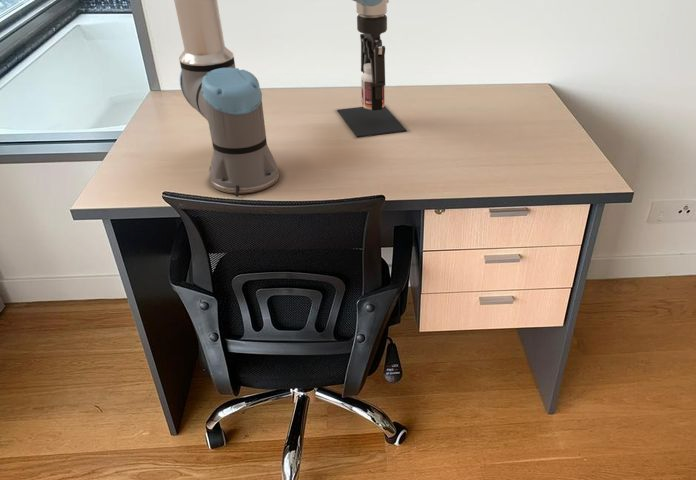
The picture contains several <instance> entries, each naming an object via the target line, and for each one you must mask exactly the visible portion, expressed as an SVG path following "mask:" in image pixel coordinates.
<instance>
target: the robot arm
mask: <svg viewBox="0 0 696 480" xmlns="http://www.w3.org/2000/svg"><path fill="white" fill-rule="evenodd" d="M352 1H353V2H355V4H356V5H355V6H356V14H358V15H357V16H356V29H357V32H359V33H360V34H359V38H360V39H359V40H360V72H361V73H362V74H363V73H365V72H364V65H365V64H367V63H371V71H372V81H373V85H370V87H371V89H372V111H375V110H382V86H384V87H385V86H386V57H385V55H386V46H385V45H383V41H382V39H381V35H382V34H384V33H386V32H387V30H388V16H387V13H388V3H390V2H389V1H390V0H352ZM173 2H174V5H175V11H176V17H177V20H178V25H179V30H180V36H181V40H182V44H183V51H182V52H181V54H180V55H179V57H178V60H179V64H180V74H179V86H180V90H181V93H182V95H183V97H184V99H185V100H186V102H187V103H188V104H189V105H190V106H191V107H192V108H193V109H195V110H196V111H197V112H198V113H199V114H200V115H201V116H202V117H203V118H204V119H205V120H206V121H207V123H208V127H209V133H210V138H211V144H212V149H213V150H212V156H211V162H210V166H209V171H208V172H209V180H210V184H211V186H212V187H213V188H214V189H216V190H217V191H219V192H222V193H226V194H232V195H233V194H234V196H235V197H239V195H243V194H253V193H257V192H261V191H264V190H267V189H269V188H270V187H272V186H273V185H275V184H276V183H277V182H278V180H279V177H280V172H279V167H278V165H277V162H276V160H275V157H274V156H273V154H272V152H271V150H270V147H269V146H268V142H267V141H268V140H267V132H266V125H265V116H264V107H263V93H262V90H261V86H260V82H259V79H258V78H257V76H255V74H253V73H252V72H250V71H248V70H245V69H239V68H237V67H236V63H235V62H236V61H235V57H234V56H235V55H234V53H233V52H232V51H231V50H230V49H228V47H226V44H225V39H224V38H225V37H224V31H223V28H222V21H221V16H220V9H219V3H218V0H173Z"/></svg>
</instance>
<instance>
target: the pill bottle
mask: <svg viewBox="0 0 696 480" xmlns="http://www.w3.org/2000/svg"><path fill="white" fill-rule="evenodd" d="M364 72H365V73H363V72H362V74H361V76H360V85H361V86H360V88H361V107H364V108H365V109H369V110H372V89H371V87H370V85H373V81H372V71H371V63H367V64H365V65H364ZM385 94H386V93H385V86H382V108H383V107H384V106H385V101H386V99H385Z"/></svg>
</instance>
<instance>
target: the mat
mask: <svg viewBox="0 0 696 480" xmlns="http://www.w3.org/2000/svg"><path fill="white" fill-rule="evenodd" d="M337 112H338V114H339V116H340V117H341V118H342V119H343V120H344V122H345V123H346V125H347V126H348V127H349V129H350V130H351V132H352V133H353V134H354V136H355V137H356V138H363V137H364V138H365V137H372V136H380V135H387V134H395V133H405V132H407V131H408V130H407V129H406V127H404V126H403V124H402V123H401V122H400V121H399V120H398V119H397V118H396V116H394V114H393V113H392V112H391V110H389V109H388V108H387V107H386V106H385V105H384V107H383V108H382V110H375V111H372V110H369V109H365V108H364V107H363V106H359V107H358V106H357V107H349V108H338V109H337Z"/></svg>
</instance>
